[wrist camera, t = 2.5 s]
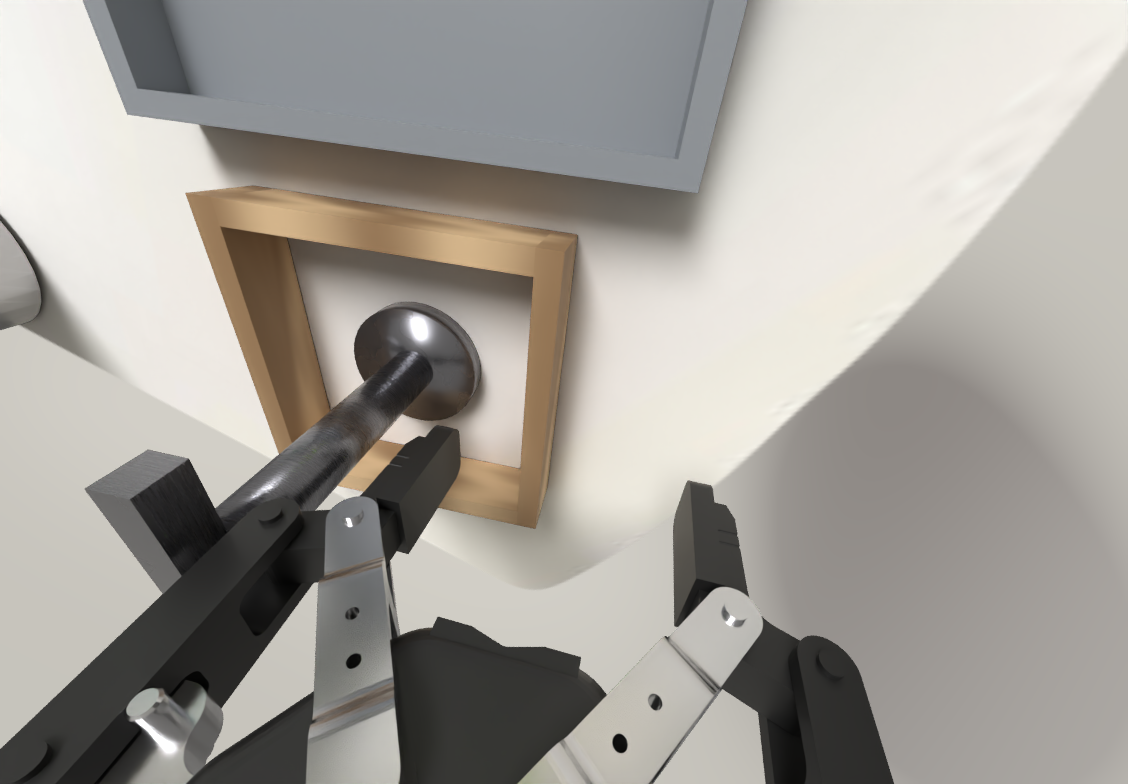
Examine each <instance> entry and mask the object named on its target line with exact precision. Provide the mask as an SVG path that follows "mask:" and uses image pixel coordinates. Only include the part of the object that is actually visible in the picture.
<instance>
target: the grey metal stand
mask: <svg viewBox="0 0 1128 784" xmlns="http://www.w3.org/2000/svg"><path fill="white" fill-rule="evenodd" d="M354 354H355V360H356V364H357V367H358V370H359V372H360V374H361V376H362V378H363V380H364V381H365V382H364V383H363V384H361V385H360V386H359V387H358V388H357V389H356V390H354V391H353V392H352V393H351V394H350V395H348V396H347V397H346V398H345V399H344V400H343V401H341V402H340V403H339V404H338V405H337V406H336V407H334V408H333V409H332V410H331V411H330V412H328V413H327V414H326V415H325V416H324V417H323V418H321V419H320V420H319V421H318V422H317V423H315V424H314V425H313V426H312V427H311V428H310V429H308V430H307V431H306V432H305V433H304V434H303V435H301V436H300V437H299V438H298V439H297V440H295V441H294V442H293V443H292V444H291V445H290V446H288V447H287V448H286V449H285V450H284V451H282V452H281V453H280V454H279V455H278V456H277V457H275V458H274V459H273V460H272V461H271V462H270V463H268V464H267V465H266V466H265V467H264V468H262V469H261V470H260V471H259V472H258V473H257V474H255V475H254V476H253V477H252V478H251V479H249V480H248V481H247V482H246V483H245V484H244V485H242V486H241V487H240V488H239V489H238V490H236V491H235V492H234V493H233V494H232V495H231V496H229V497H228V498H227V499H226V500H225V501H224V502H223V503H221V504H220V505H219V506H218V507H217V508H214V506H213V504H212V502H211V500H210V498H209V497H208V495H207V492H206V491H205V489H204V487H203V485H202V483H201V481H200V479H199V477H198V475H197V473H196V472H195V470H194V468H193V466H192V464H191V462H190V460H189V459H188V458H183V457H179V456H174V455H170V454H165V453H161V452H156V451H151V450H147V451H145V452H144V453H142V454H140V455H139V456H137V457H135V458H134V459H132V460H130V461H129V462H127V463H126V464H124V465H122V466H121V467H119V468H118V469H116V470H114V471H113V472H111V473H110V474H108V475H106V476H105V477H103V478H101V479H100V480H98V481H96V482H95V483H93V484H92V485H90V486H88V487H87V488H85V490H86V492H87V493H88V494H89V495H90V497H91V498H92V500H93V501H94V502H95V504H96V505H97V506H98V508H99V509H100V511H101V512H102V513H103V514H104V516H105V517H106V519H107V520H108V521H109V523H110V524H111V525H112V526H113V528H114V529H115V531H116V532H117V533H118V534H119V536H120V537H121V539H122V540H123V541H124V543H126V545H127V547H128V548H129V549H130V551H131V552H132V553H133V554H134V556H135V557H136V558H137V560H138V561H139V563H140V564H141V565H142V567H143V568H144V569H145V571H146V572H147V573H148V575H149V576H150V577H151V579H152V580H153V581H154V583H155V584H156V585H157V587H158V588H159V589H160V591H161V592H162V593H163V594H164V593H165V592H166V591H167V590H168V589H169V588H170V587H171V586H172V585H173V584H174V583H175V582H176V581H177V580H178V579H179V578H180V577H181V576H182V575H183V574H184V573H186V572H187V571H188V570H189V569H190V568H191V567H192V566H193V565H194V564H195V563H196V562H197V561H198V560H199V559H200V558H201V557H202V556H203V555H204V554H205V553H206V552H208V551H209V550H210V549H211V548H212V547H213V546H214V545H215V544H216V543H217V542H218V541H219V540H220V539H221V538H222V537H223V536H224V535H225V534H226V533H227V532H228V531H230V530H231V529H232V528H233V527H234V526H235V525H236V524H237V523H238V522H239V521H240V520H241V519H242V518H243V517H244V516H245V515H246V514H247V513H248V512H250V511H251V510H252V509H253V508H255V507H256V506H258V505H260V504H262V503H264V502H266V501H269V500H273V499H278V498H287V499H292V500H294V501H295V502H296V503H297V504H298V505H299V508H300V510H301V511H315V510H316V509H317V508H318V506H319V505H320V504H321V503H322V502H323V501H324V500H325V499H326V498H327V497H328V495H329V494H330V493H331V492H332V491H333V490H334V489H335V488H336V487H337V486H338V484H339V483H340V482H341V481H342V480H343V479H344V478H345V477H346V476H347V474H348V473H349V472H350V471H351V470H352V469H353V468H354V467H355V466H356V464H357V463H358V462H359V461H360V460H361V459H362V458H363V457H364V456H365V454H366V453H367V452H368V451H369V450H370V449H371V448H372V447H373V446H374V444H375V443H376V442H377V441H378V440H379V439H380V438H381V437H382V436H383V435H384V433H385V432H386V431H387V430H388V429H389V428H390V427H391V426H392V425H393V423H394V422H395V421H396V420H397V419H398V418H399V417H400V416H401V415H402V414H404V415H406V416H409V417H412V418H416V419H420V420H432V421H433V420H441V419H446V418H448V417H451V416H453V415H455V414H457V413H458V412H459V411H461V410H462V409H463V408H464V406H465V405H466V404H467V402H468V401H469V400H470V398H471V397H472V395H473V394H474V392H475V391H476V389H477V386H478V384H479V380H480V361H479V357H478V354H477V351H476V348H475V346H474V344H473V342H472V341H471V339H470V338H469V336H468V334H467V333H466V332H465V331H464V330H463V328H462V327H461V326H460V325H459V324H458V323H457V322H456V321H454V320H453V319H452V318H451V317H449V316H448V315H446V314H445V313H443V312H442V311H440V310H438V309H436V308H433V307H431V306H428V305H425V304H421V303H415V302H400V303H395V304H392V305H389V306H387V307H385V308H383V309H382V310H380V311H378V312H377V313H375V314H374V315H372V316H370V317H369V318H368V319H367V320H366V321H365V322H364V323H363V324H362V325H361V326H360V328H359V330H358V332H357V335H356V338H355V343H354Z"/></svg>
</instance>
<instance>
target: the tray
mask: <svg viewBox="0 0 1128 784" xmlns="http://www.w3.org/2000/svg"><path fill="white" fill-rule="evenodd" d="M747 2H748V0H83V3H84V5H85V8H86V10H87V13H88V15H89V18H90V20H91V23H92V26H93V28H94V31H95V33H96V36H97V38H98V41H99V43H100V46H101V49H102V51H103V54H104V56H105V59H106V61H107V64H108V66H109V69H110V71H111V74H112V77H113V79H114V82H115V84H116V87H117V89H118V92H119V94H120V97H121V100H122V102H123V105H124V107H125V110H126V112H127V115H135V116H142V117H149V118H156V119H164V120H171V121H178V122H185V123H193V124H200V125H207V126H214V127H222V128H229V129H236V130H243V131H251V132H258V133H265V134H272V135H280V136H287V137H294V138H301V139H309V140H316V141H323V142H330V143H338V144H345V145H352V146H359V147H367V148H374V149H381V150H388V151H396V152H403V153H410V154H417V155H425V156H432V157H439V158H446V159H453V160H461V161H468V162H475V163H482V164H490V165H497V166H504V167H511V168H519V169H526V170H533V171H540V172H548V173H555V174H562V175H569V176H577V177H584V178H591V179H598V180H606V181H613V182H620V183H627V184H635V185H642V186H649V187H656V188H664V189H671V190H678V191H685V192H693V193H698V191H699V187H700V183H701V179H702V175H703V172H704V168H705V164H706V160H707V156H708V152H709V148H710V145H711V141H712V137H713V133H714V129H715V125H716V121H717V118H718V114H719V110H720V106H721V102H722V98H723V94H724V91H725V87H726V83H727V79H728V75H729V71H730V67H731V64H732V60H733V56H734V52H735V48H736V44H737V40H738V37H739V33H740V29H741V25H742V21H743V17H744V13H745V10H746V6H747Z"/></svg>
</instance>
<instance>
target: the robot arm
mask: <svg viewBox="0 0 1128 784" xmlns="http://www.w3.org/2000/svg"><path fill="white" fill-rule="evenodd" d="M40 306H41V292H40V287H39V284H38V281H37V278H36V275H35V272H34V271H33V269H32V267H31V265H30V263H29V261H28V259H27V257H26V255H25V254H24V252H23V251H22V249H21V248H20V246H19V245H18V243H17V242H16V240H15V239H14V237H13V236H12V235H11V233H10V232H9V231H8V230H7V228H6V227H5V226H4V225H3V224H2V222H1V221H0V330H2V329H6V328H9V327H13V326H16V325H20V324H23V323H26V322H28V321H31V320H33V319H34V318H35V317H36V316H37V314H38V313H39V310H40ZM460 465H461V456H460V440H459V431H458V430H457V429H453V428H448V427H444V426H439V425H436V426H435V427H434V428H433V429H432V430H431V431H430V432H429V434H428V435H427V436H426V437H421V436H418V437H417V438H415V439H413V440H411V441H410V442H408V443H406V444H405V445H404V446H403V448H402V449H401V450H400V451H399V452H398V453H397V456H395V457H394V458H393V459H392V460H391V461H390V463H389V465H387V466H386V467H385V468H384V469H383V470H382V472H381V473H380V474H379V475H378V476H377V477H376V479H375V480H374V481H373V482H372V483H371V484H370V485H369V487H368V488H367V489H366V490H365V491H364V492H363V493H362V495H361V496H360V497H352V498H348V499H346V500H343V501H341V502H340V503H338V504H337V505H335V506H334V507H333V508H332V509H331V510H317V511H301V510H300V508H299V505H298V504H297V503H296V502H295V501H294V500H292V499H287V498H278V499H273V500H269V501H266V502H264V503H262V504H260V505H258V506H256V507H255V508H253V509H252V510H251V511H250V512H248V513H247V514H246V515H245V516H244V517H243V518H242V519H241V520H240V521H239V522H238V523H237V524H236V525H235V526H234V527H233V528H232V529H231V530H230V531H228V532H227V533H226V534H225V535H224V536H223V537H222V538H221V539H220V540H219V541H218V542H217V543H216V544H215V545H214V546H213V547H212V548H211V549H210V550H209V551H208V552H206V553H205V554H204V555H203V556H202V557H201V558H200V559H199V560H198V561H197V562H196V563H195V564H194V565H193V566H192V567H191V568H190V569H189V570H188V571H187V572H186V573H184V574H183V575H182V576H181V577H180V578H179V579H178V580H177V581H176V582H175V583H174V584H173V585H172V586H171V587H170V588H169V589H168V590H167V591H166V592H165V593H164V594H162V595H161V596H160V597H159V598H158V599H157V600H156V601H155V602H154V603H153V604H152V605H151V606H150V607H149V608H148V609H147V610H146V611H145V612H144V613H143V614H142V615H140V616H139V617H138V618H137V619H136V620H135V621H134V622H133V623H132V624H131V625H130V626H129V627H128V628H127V629H126V630H125V631H124V632H123V633H122V634H121V635H120V636H118V637H117V638H116V639H115V640H114V641H113V642H112V643H111V644H110V645H109V646H108V647H107V648H106V649H105V650H104V651H103V652H102V653H101V654H100V655H99V656H98V657H96V658H95V659H94V660H93V661H92V662H91V663H90V664H89V665H88V666H87V667H86V668H85V669H84V670H83V671H82V672H81V673H80V674H79V675H78V676H77V677H76V678H75V679H73V680H72V681H71V682H70V683H69V684H68V685H67V686H66V687H65V688H64V689H63V690H62V691H61V692H60V693H59V694H58V695H57V696H56V697H55V698H53V699H52V700H51V701H50V702H49V703H48V704H47V705H46V706H45V707H44V708H43V709H42V710H41V711H40V712H39V713H38V714H37V715H36V716H35V717H34V718H33V719H32V720H30V721H29V722H28V723H27V725H25V726H24V727H23V728H22V729H21V730H20V731H19V732H18V733H17V734H16V735H15V736H14V737H13V738H12V739H11V740H9V741H8V742H7V743H6V744H5V745H4V746H3V747H2V748H1V749H0V784H653V783H654V782H655V780H656V779H657V777H658V776H659V775H660V774H661V772H662V771H663V770H664V768H665V767H666V765H667V764H668V763H669V761H670V760H671V758H672V757H673V756H674V754H675V753H676V752H677V750H678V749H679V747H680V746H681V745H682V743H683V742H684V740H685V739H686V738H687V736H688V735H689V734H690V732H691V731H692V729H693V728H694V727H695V725H696V724H697V723H698V721H699V720H700V719H701V717H702V716H703V714H704V713H705V712H706V710H707V709H708V708H709V706H710V705H711V704H712V702H713V701H714V700H715V698H716V697H717V696H718V694H719V693H720V692H721V690H722V689H724V690H725V691H726V692H728V693H730V694H731V695H733V696H734V697H736V698H737V699H739V700H740V701H742V702H743V703H745V704H746V705H748V706H749V707H751V708H752V709H754V710H755V711H757V712H758V715H759V725H760V735H761V744H762V753H763V763H764V771H765V781H766V784H894V782H893V779H892V776H891V772H890V769H889V766H888V762H887V759H886V756H885V753H884V750H883V747H882V743H881V740H880V736H879V733H878V730H877V727H876V724H875V720H874V717H873V714H872V710H871V707H870V704H869V701H868V697H867V694H866V691H865V688H864V684H863V681H862V678H861V675H860V673H859V670H858V668H857V666H856V665H855V663H854V662H853V660H852V659H851V658H850V657H849V655H848V654H847V653H846V652H845V651H844V650H843V649H841V648H840V647H839V646H838V645H836V644H835V643H833V642H832V641H830V640H828V639H825V638H823V637H819V636H807V637H805V638H803V639H802V640H801V641H800V640H798V639H796V638H794V637H792V636H790V635H789V634H787V633H785V632H784V631H782V630H780V629H778V628H776V627H775V626H773V625H772V624H770V623H769V622H767V621H766V620H765V619H764V618H763V617H762V616H761V613H760V611H759V609H758V608H757V606H756V605H755V604H754V602H753V601H752V600H751V599H750V598H749V595H748V591H747V585H746V580H745V574H744V569H743V563H742V557H741V552H740V549H739V540H738V537H737V529H736V523H735V519H734V517H733V516H732V514H731V513H730V511H729V509H728V508H727V506H726V505H722V504H718V503H714V496H713V489H712V486H711V485H707V484H702V483H697V482H693V481H687V483H686V485H685V488H684V491H683V494H682V497H681V499H680V502H679V505H678V508H677V511H676V514H675V519H674V526H673V544H674V545H673V550H674V552H673V553H674V626H676V627H678V628H677V629H676V630H675V631H674V632H673V633H672V634H671V635H670V636H669V637H666V636H665V637H663V638H662V639H660V640H659V641H658V642H657V643H656V644H655V645H654V646H653V648H651V650H650V651H649V652H648V653H647V654H646V655H645V656H644V657H643V658H642V659H641V660H640V661H639V662H638V663H637V664H636V665H635V666H634V667H633V668H632V669H631V670H630V671H629V673H628V674H627V675H626V676H625V677H624V678H623V679H622V680H621V681H620V682H619V683H618V684H617V685H616V686H615V687H614V688H613V689H612V690H611V691H610V692H609V694H607V695H606V693H605V692H604V691H603V689H602V688H601V687H600V686H599V685H598V684H597V683H596V681H595V680H594V679H592V678H591V677H590V676H589V675H587V674H586V673H585V672H583V671H582V670H580V669H579V666H580V661H581V657H578V656H575V655H571V654H568V653H564V652H560V651H557V650H553V649H550V648H546V647H505V646H502V645H500V644H499V643H497V642H496V641H494V640H492V639H491V638H489V637H488V636H486V635H485V634H483V633H482V632H480V631H478V630H477V629H475V628H474V627H472V626H469V625H465V624H462V623H459V622H455V621H452V620H448V619H445V618H441V617H437V620H436V622H435V624H434V626H433V628H423V629H418V630H414V631H411V632H407V633H405V634H402V635H400V629H399V624H398V618H397V611H396V602H395V594H394V586H393V577H392V568H391V562H390V560H391V559H392V557H393V556H394V554H395V553H396V551H399V552H402V553H406V554H409V552H410V551H411V549H412V547H413V546H414V545H415V543H416V541H417V540H418V538H419V537H420V535H421V534H422V532H423V530H424V529H425V527H426V526H427V524H428V522H429V521H430V519H431V518H432V516H433V515H434V513H435V511H436V510H437V508H438V507H439V505H440V503H441V502H442V500H443V499H444V497H445V496H446V494H447V492H448V491H449V489H450V488H451V486H452V484H453V483H454V481H455V480H456V478H457V476H458V473H459V470H460ZM315 582H319V583H318V603H317V629H316V653H315V655H316V656H315V681H314V691H313V692H312V693H311V694H309V695H308V696H306V697H304V698H303V699H302V700H300V701H299V702H297V703H295V704H294V705H292V706H291V707H290V708H288V709H286V710H285V711H284V712H282V713H281V714H279V715H278V716H276V717H275V718H273V719H272V720H270V721H268V722H267V723H265V724H264V725H262V726H261V727H260V728H258V729H257V730H255V731H253V732H252V733H250V734H249V735H248V736H246V737H245V738H243V739H241V740H240V741H239V742H237V743H235V744H234V745H232V746H231V747H229V748H228V749H226V750H225V751H224V752H222V753H221V754H219V755H218V756H216V757H215V758H214V759H212V760H211V761H210V762H208V763H207V764H206V760H207V758H208V757H209V755H210V754H211V752H212V750H213V747H214V743H215V742H216V740H217V738H218V736H219V734H220V732H221V729H222V725H223V712H222V710H221V708H222V707H223V705H224V704H225V703H226V701H227V700H228V699H229V697H230V696H231V695H232V693H233V692H234V690H235V689H236V688H237V686H238V685H239V683H240V682H241V681H242V680H243V678H244V677H245V675H246V674H247V673H248V671H249V670H250V669H251V667H252V666H253V665H254V663H255V662H256V660H257V659H258V658H259V656H260V655H261V654H262V652H263V651H264V650H265V648H266V647H267V645H268V644H269V643H270V641H271V640H272V639H273V637H274V636H275V635H276V633H277V632H278V631H279V629H280V628H281V626H282V625H283V624H284V622H285V621H286V620H287V618H288V617H289V616H290V614H291V613H292V611H293V610H294V609H295V607H296V606H297V605H298V603H299V601H301V599H302V598H303V596H304V595H305V593H306V592H307V591H308V590H309V588H310V587H311V585H312V584H313V583H315ZM205 764H206V765H205Z"/></svg>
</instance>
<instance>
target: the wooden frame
mask: <svg viewBox="0 0 1128 784" xmlns="http://www.w3.org/2000/svg"><path fill="white" fill-rule="evenodd" d="M186 196H187V199H188V202H189V205H190V207H191V210H192V213H193V216H194V219H195V221H196V224H197V227H198V230H199V232H200V235H201V238H202V241H203V244H204V246H205V249H206V252H207V255H208V258H209V260H210V263H211V266H212V269H213V271H214V274H215V277H216V280H217V283H218V285H219V288H220V291H221V294H222V296H223V299H224V302H225V305H226V308H227V310H228V313H229V316H230V319H231V322H232V324H233V327H234V330H235V333H236V335H237V338H238V341H239V344H240V347H241V349H242V352H243V355H244V358H245V361H246V363H247V366H248V369H249V372H250V374H251V377H252V380H253V383H254V386H255V388H256V391H257V394H258V397H259V400H260V402H261V405H262V408H263V411H264V413H265V416H266V419H267V422H268V425H269V427H270V430H271V433H272V436H273V438H274V441H275V444H276V447H277V450H278V452H279V454H280V453H281V452H282V451H284V450H285V449H286V448H287V447H288V446H290V445H291V444H292V443H293V442H294V441H295V440H297V439H298V438H299V437H300V436H301V435H303V434H304V433H305V432H306V431H307V430H308V429H310V428H311V427H312V426H313V425H314V424H315V423H317V422H318V421H319V420H320V419H321V418H323V417H324V416H325V415H326V414H327V413H328V412H330V408H329V404H328V400H327V396H326V392H325V388H324V384H323V380H322V376H321V372H320V368H319V364H318V360H317V356H316V352H315V348H314V344H313V340H312V336H311V332H310V328H309V324H308V320H307V316H306V312H305V308H304V304H303V300H302V296H301V292H300V288H299V284H298V280H297V276H296V272H295V268H294V264H293V260H292V256H291V252H290V248H289V244H288V240H287V237H289V238H295V239H301V240H307V241H313V242H320V243H326V244H332V245H338V246H344V247H351V248H357V249H363V250H369V251H375V252H381V253H388V254H394V255H400V256H406V257H412V258H419V259H425V260H431V261H437V262H443V263H449V264H456V265H462V266H468V267H474V268H480V269H486V270H493V271H499V272H505V273H511V274H517V275H524V276H530V277H533V289H532V304H531V319H530V334H529V349H528V363H527V378H526V393H525V408H524V423H523V437H522V452H521V467H520V469H518V468H513V467H508V466H503V465H498V464H494V463H489V462H484V461H479V460H474V459H469V458H464V457H461V465H460V470H459V473H458V476H457V478H456V480H455V481H454V483H453V484H452V486H451V488H450V489H449V491H448V492H447V494H446V496H445V497H444V499H443V500H442V502H441V503H440V505H439V507H438V508H442V509H447V510H451V511H456V512H460V513H465V514H469V515H474V516H479V517H483V518H488V519H492V520H497V521H502V522H506V523H511V524H515V525H520V526H524V527H529V528H534V529H535V528H536V525H537V521H538V518H539V515H540V511H541V508H542V504H543V501H544V497H545V494H546V490H547V486H548V478H549V469H550V461H551V453H552V444H553V436H554V428H555V419H556V411H557V403H558V395H559V386H560V378H561V370H562V361H563V353H564V345H565V336H566V328H567V320H568V311H569V303H570V295H571V286H572V278H573V270H574V261H575V253H576V245H577V236H578V235H577V234H570V233H563V232H557V231H550V230H544V229H537V228H530V227H524V226H517V225H510V224H504V223H497V222H491V221H484V220H477V219H471V218H464V217H457V216H451V215H444V214H438V213H431V212H424V211H418V210H411V209H404V208H398V207H391V206H385V205H378V204H371V203H365V202H358V201H351V200H345V199H338V198H332V197H325V196H318V195H312V194H305V193H298V192H292V191H285V190H278V189H272V188H265V187H259V186H245V187H236V188H227V189H218V190H209V191H200V192H191V193H186ZM403 446H404V445H401V444H396V443H391V442H386V441H382V440H378V441H377V442H376V443H375V444H374V446H373V447H372V448H371V449H370V450H369V451H368V452H367V453H366V454H365V456H364V457H363V458H362V459H361V460H360V461H359V462H358V463H357V464H356V466H355V467H354V468H353V469H352V470H351V471H350V472H349V473H348V474H347V476H346V477H345V478H344V479H343V480H342V481H341V482H340V483H339V484H338V486H341V487H346V488H350V489H355V490H359V491H365V490H366V489H367V488H368V487H369V485H370V484H371V483H372V482H373V481H374V480H375V479H376V477H377V476H378V475H379V474H380V473H381V472H382V470H383V469H384V468H385V467H386V466H387V465H389V463H390V461H391V460H392V459H393V458H394V457H395V456H397V453H398V452H399V451H400V450H401V449H402V448H403Z"/></svg>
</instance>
